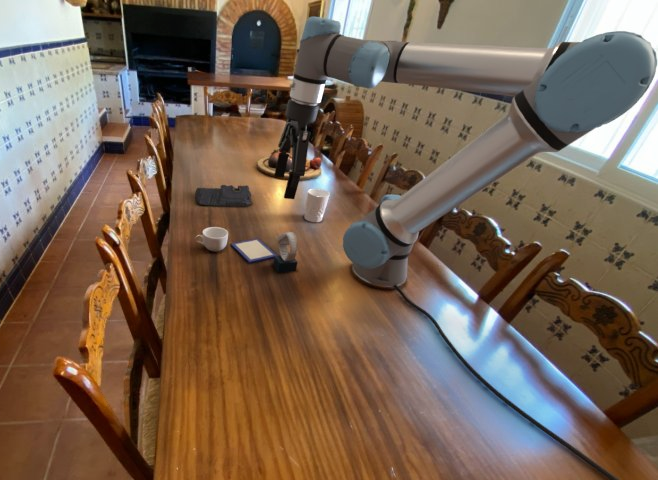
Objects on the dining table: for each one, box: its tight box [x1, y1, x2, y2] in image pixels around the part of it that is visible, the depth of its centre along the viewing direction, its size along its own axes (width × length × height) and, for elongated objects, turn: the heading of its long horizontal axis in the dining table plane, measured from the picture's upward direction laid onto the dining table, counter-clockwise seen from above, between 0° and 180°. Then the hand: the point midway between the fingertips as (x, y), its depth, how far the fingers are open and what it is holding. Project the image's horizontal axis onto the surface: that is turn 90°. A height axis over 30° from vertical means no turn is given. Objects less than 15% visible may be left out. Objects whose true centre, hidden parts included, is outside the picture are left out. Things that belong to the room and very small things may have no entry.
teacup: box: [195, 226, 229, 252], centre depth 110 cm, size 10×8×5 cm
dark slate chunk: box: [194, 184, 252, 208], centre depth 142 cm, size 15×22×5 cm
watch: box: [272, 231, 299, 274], centre depth 102 cm, size 6×8×11 cm
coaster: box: [230, 238, 278, 264], centre depth 112 cm, size 12×10×1 cm
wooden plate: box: [256, 148, 323, 181], centre depth 175 cm, size 32×32×8 cm
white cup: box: [303, 188, 331, 223], centre depth 131 cm, size 8×8×10 cm
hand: (283, 187), depth 99 cm, fingers open, 13 cm apart
